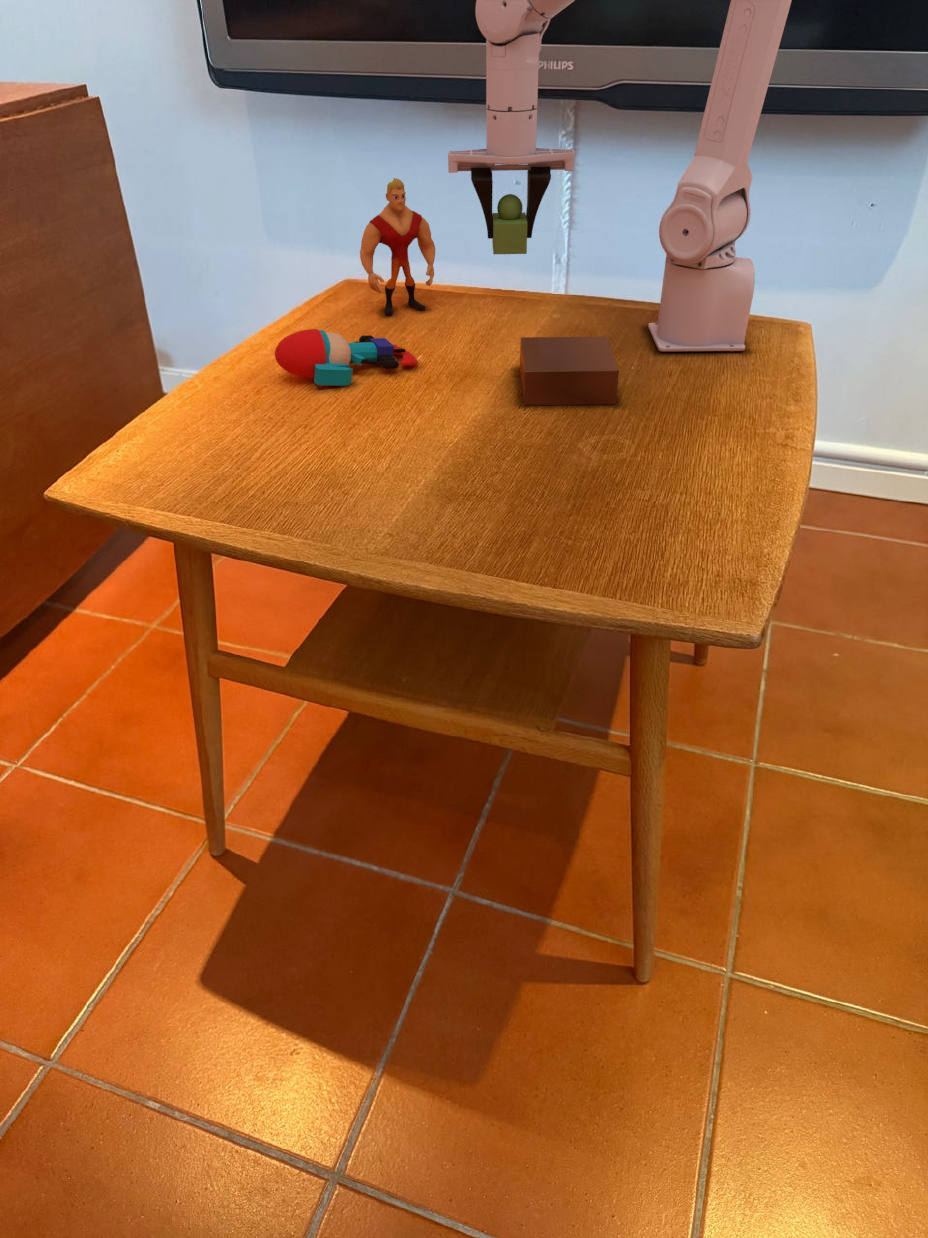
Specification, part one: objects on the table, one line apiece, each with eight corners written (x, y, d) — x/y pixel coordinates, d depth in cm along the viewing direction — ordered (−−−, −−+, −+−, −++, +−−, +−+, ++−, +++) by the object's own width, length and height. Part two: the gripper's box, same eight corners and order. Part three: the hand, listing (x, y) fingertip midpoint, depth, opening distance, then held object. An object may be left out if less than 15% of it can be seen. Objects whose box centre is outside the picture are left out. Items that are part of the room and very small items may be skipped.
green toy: (524, 242, 110) (525, 188, 106) (526, 253, 106) (528, 198, 102) (492, 242, 110) (492, 189, 106) (493, 254, 106) (493, 199, 102)
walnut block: (604, 368, 94) (607, 336, 91) (615, 404, 87) (619, 370, 84) (519, 369, 94) (520, 337, 92) (524, 405, 87) (525, 371, 84)
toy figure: (391, 359, 100) (263, 363, 93) (396, 316, 97) (265, 317, 90) (420, 388, 95) (287, 394, 88) (427, 344, 92) (290, 347, 85)
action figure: (371, 320, 106) (361, 184, 97) (362, 311, 109) (350, 178, 99) (443, 308, 109) (440, 175, 100) (432, 300, 112) (428, 169, 102)
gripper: (573, 101, 102) (566, 226, 110) (447, 103, 102) (450, 227, 110) (579, 111, 96) (571, 241, 104) (446, 113, 96) (449, 243, 105)
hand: (509, 235), depth 107 cm, fingers closed on green toy, 4 cm apart
